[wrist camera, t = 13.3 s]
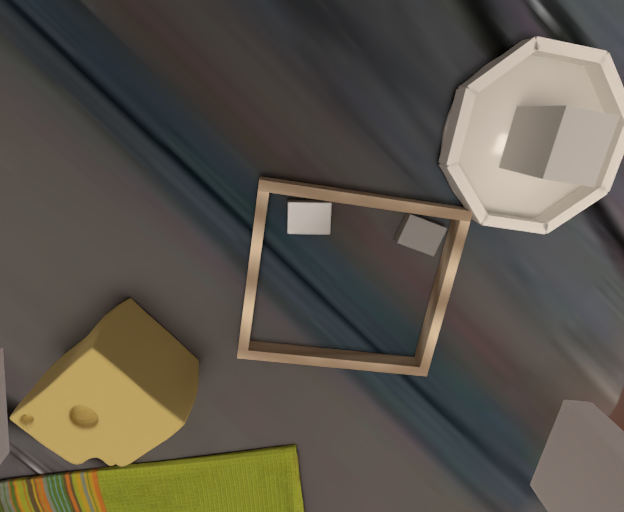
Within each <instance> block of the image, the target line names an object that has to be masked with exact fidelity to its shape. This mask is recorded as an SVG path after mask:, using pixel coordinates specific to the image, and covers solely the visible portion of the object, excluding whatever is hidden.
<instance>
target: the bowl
mask: <svg viewBox="0 0 624 512" xmlns="http://www.w3.org/2000/svg"><path fill="white" fill-rule="evenodd" d="M458 88H459V89H456V93H455V97H454V101H453V103H452V106H451V108H450V110H449V112H448V115H447V118H446V121H445V124H444V128H443V134H442V141H441V154H440V158H439V162H438V163H440V164H439V166H440V168H441V170H442V171H443V173H444V175H445V177H446V180H447V182H448V184H449V186H450V188H451V190H452V192H453V193H454V195H455V196H456V198H457V199H458V200H459V201H460V202H461V203H462V205H463V206H464V208H465V209H467V210H469V211H470V212H471V213H472V218H471V219H472V220H474V221H475V222H477V223H479V224H481V225H484V226H491V227H498V228H505V229H512V230H519V231H526V232H532V233H539V234H546V233H547V234H548V233H549V232H551V231H552V230H554V229H555V228H557V227H558V226H560V225H561V224H563V223H564V222H566V221H567V220H569V219H570V218H572V217H573V216H575V215H576V214H578V213H580V212H581V211H583V210H584V209H586V208H587V207H589V206H590V205H592V204H593V203H595V202H596V201H598V200H599V199H601V198H602V197H604V196H605V195H607V194H608V193H607V191H608V192H610V189H611V186H612V184H613V181H614V178H615V176H616V173H617V170H618V168H619V165H620V162H621V160H622V157H623V154H624V87H623V85H622V82H621V80H620V77H619V75H618V72H617V70H616V68H615V65H614V63H613V60H612V58H611V56H610V53H607V51H605V50H600V49H596V48H591V47H586V46H581V45H577V44H572V43H567V42H562V41H558V40H553V39H548V38H543V37H539V36H536V37H533V38H529V39H525V40H522V41H520V42H519V43H517V44H516V45H515V46H513V47H512V48H511V49H509V50H508V51H507V52H505V53H504V54H502V55H501V56H499V57H497V58H495V59H494V60H492V61H490V62H489V63H487V64H486V65H484V66H483V67H482V68H481V69H480V70H478V71H477V72H476V73H475V74H474V75H473V76H472V77H471V78H470V79H468V80H467V81H466V82H464V83H463V84H461V85H460V86H459V87H458ZM517 106H571V107H577V108H582V109H587V110H592V111H597V112H603V113H608V114H613V115H618V116H620V118H619V121H618V124H617V126H616V129H615V132H614V135H613V137H612V140H611V143H610V146H609V148H608V151H607V154H606V156H605V159H604V162H603V165H602V167H601V170H600V173H599V176H598V178H597V181H596V184H595V187H588V186H582V185H576V184H570V183H564V182H558V181H552V180H546V179H541V178H537V177H533V176H529V175H525V174H521V173H518V172H514V171H510V170H506V169H502V168H499V165H500V161H501V158H502V155H503V151H504V148H505V144H506V141H507V138H508V134H509V131H510V127H511V124H512V121H513V117H514V114H515V110H516V107H517Z"/></svg>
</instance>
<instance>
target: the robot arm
mask: <svg viewBox="0 0 624 512" xmlns="http://www.w3.org/2000/svg"><path fill="white" fill-rule="evenodd" d="M8 453H9V436H8V421H7V405H6V389H5V374H4V358H3V348H0V464H1V462H2V461H3V460H4V459H5V457H6V456H7V455H8ZM530 486H531V487H532V489H533V490H534V492H535V493H536V495H537V496H538V498H539V499H540V501H541V502H542V504H543V505H544V507H545V508H546V509H547V511H548V512H624V432H623V431H622V430H621V429H620V428H619V427H618V426H617V425H616V424H615V423H614V422H613V421H611V420H610V419H609V418H608V417H607V416H606V415H605V414H604V413H603V412H602V411H601V410H600V409H598V408H597V407H596V406H595V405H594V404H593V403H592V402H585V401H574V400H564V401H563V404H562V406H561V409H560V411H559V414H558V416H557V418H556V421H555V423H554V426H553V428H552V431H551V433H550V436H549V438H548V441H547V443H546V446H545V448H544V451H543V453H542V456H541V458H540V461H539V463H538V466H537V468H536V471H535V473H534V476H533V478H532V481H531V483H530Z"/></svg>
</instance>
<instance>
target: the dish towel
mask: <svg viewBox="0 0 624 512" xmlns="http://www.w3.org/2000/svg"><path fill="white" fill-rule="evenodd" d="M303 505H304V504H303V498H302V490H301V483H300V474H299V462H298V456H297V446H296V444H292V445H286V446H279V447H270V448H263V449H255V450H249V451H240V452H231V453H224V454H218V455H209V456H200V457H191V458H183V459H175V460H167V461H159V462H158V461H157V462H151V463H150V462H148V463H139V464H128V465H126V466H122V467H120V466H111V467H102V468H95V469H88V470H80V471H71V472H62V473H54V474H47V475H38V476H31V477H21V478H13V479H7V480H1V481H0V512H304V506H303Z"/></svg>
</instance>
